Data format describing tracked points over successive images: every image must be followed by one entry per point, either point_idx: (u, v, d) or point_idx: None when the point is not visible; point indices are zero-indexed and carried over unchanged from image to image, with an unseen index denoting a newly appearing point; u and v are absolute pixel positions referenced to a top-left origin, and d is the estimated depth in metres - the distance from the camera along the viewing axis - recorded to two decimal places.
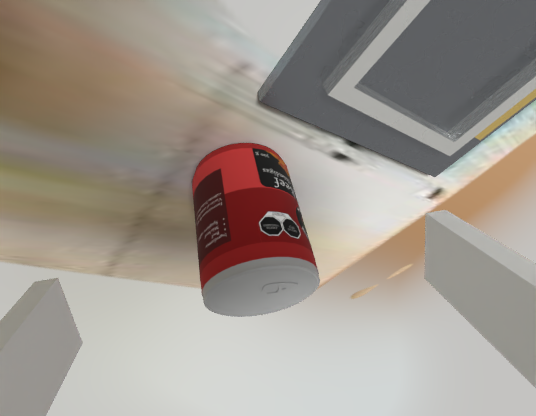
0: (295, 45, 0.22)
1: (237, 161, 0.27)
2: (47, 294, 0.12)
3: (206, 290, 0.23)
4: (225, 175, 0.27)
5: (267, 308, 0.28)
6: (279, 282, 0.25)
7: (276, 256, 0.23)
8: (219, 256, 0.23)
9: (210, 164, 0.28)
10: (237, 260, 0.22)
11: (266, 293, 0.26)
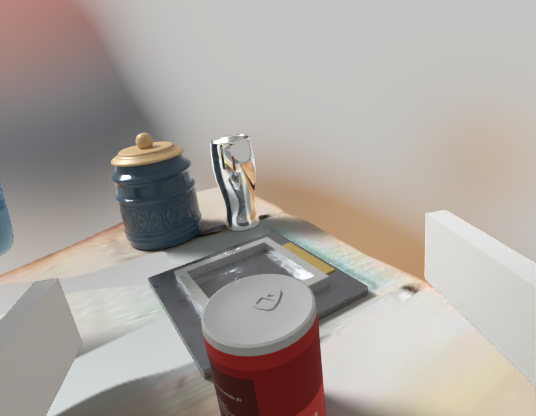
0: (188, 347, 0.37)
1: None
2: (47, 294, 0.12)
3: (208, 336, 0.23)
4: None
5: (302, 312, 0.24)
6: (259, 297, 0.26)
7: None
8: None
9: None
10: None
11: (267, 306, 0.25)
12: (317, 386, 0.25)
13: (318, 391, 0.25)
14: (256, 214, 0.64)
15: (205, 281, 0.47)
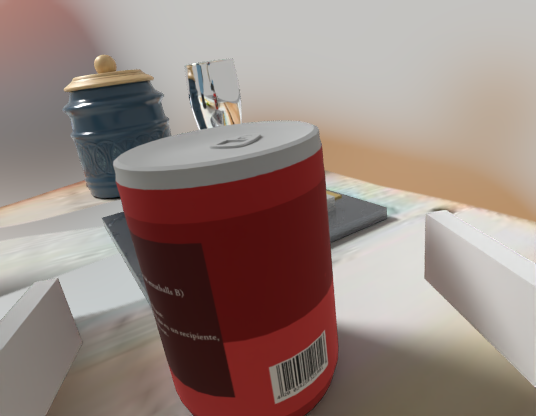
0: (138, 281, 0.26)
1: None
2: (47, 294, 0.12)
3: (118, 171, 0.12)
4: None
5: (296, 138, 0.13)
6: (224, 142, 0.16)
7: None
8: None
9: None
10: None
11: (235, 144, 0.14)
12: (325, 282, 0.14)
13: (327, 294, 0.15)
14: None
15: None
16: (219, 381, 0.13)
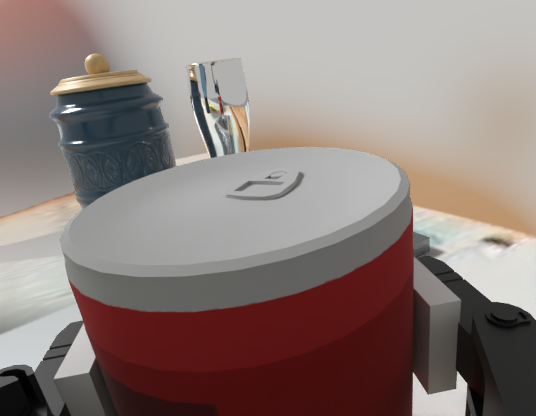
0: None
1: None
2: None
3: (64, 256, 0.07)
4: None
5: (373, 189, 0.08)
6: (245, 184, 0.10)
7: None
8: None
9: None
10: None
11: (266, 192, 0.09)
12: (409, 415, 0.09)
13: None
14: None
15: None
16: None
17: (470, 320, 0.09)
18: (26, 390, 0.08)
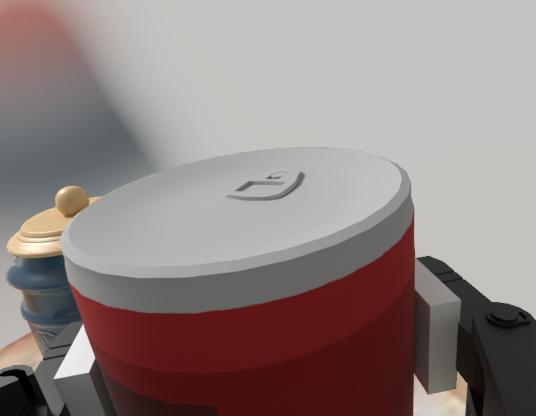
0: None
1: None
2: None
3: None
4: None
5: (374, 189, 0.08)
6: (245, 184, 0.10)
7: None
8: None
9: None
10: None
11: (266, 192, 0.09)
12: None
13: None
14: None
15: None
16: None
17: (470, 320, 0.09)
18: (26, 390, 0.08)
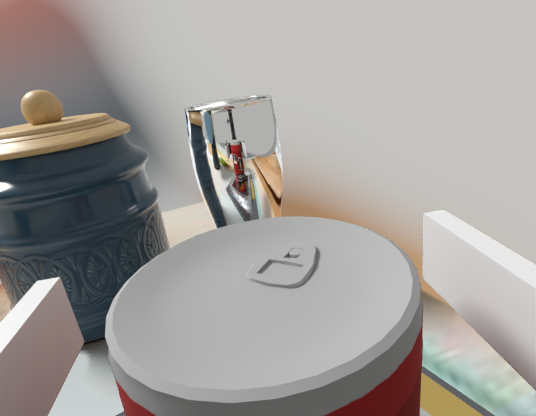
0: None
1: None
2: (49, 293, 0.12)
3: (112, 358, 0.07)
4: None
5: (387, 288, 0.09)
6: (265, 260, 0.11)
7: None
8: None
9: None
10: None
11: (287, 279, 0.10)
12: None
13: None
14: None
15: None
16: None
17: None
18: None
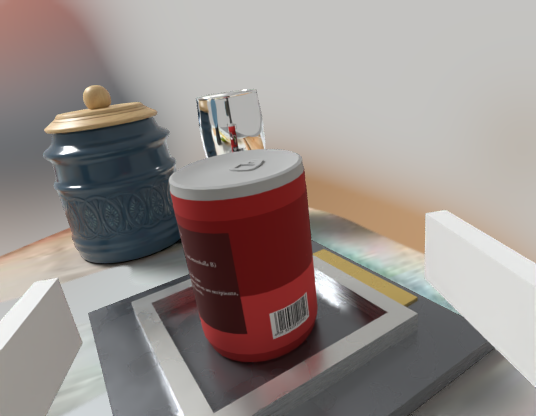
0: None
1: None
2: (47, 294, 0.12)
3: (175, 188, 0.19)
4: None
5: (287, 166, 0.20)
6: (238, 165, 0.23)
7: None
8: (173, 206, 0.21)
9: None
10: None
11: (247, 168, 0.21)
12: (306, 260, 0.22)
13: (308, 268, 0.22)
14: None
15: (183, 320, 0.27)
16: (236, 323, 0.21)
17: None
18: None
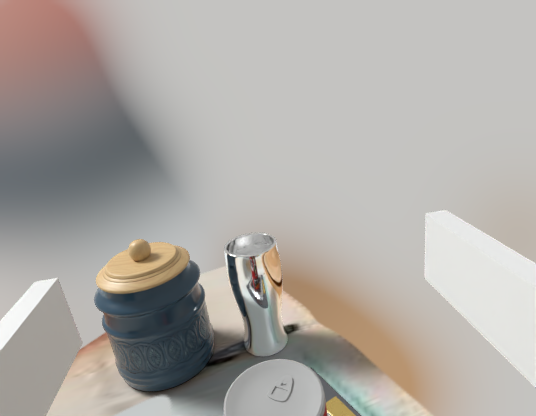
0: None
1: None
2: (47, 294, 0.12)
3: None
4: None
5: (313, 405, 0.27)
6: (273, 386, 0.29)
7: None
8: None
9: None
10: None
11: (281, 397, 0.28)
12: None
13: None
14: (283, 332, 0.50)
15: None
16: None
17: None
18: None
